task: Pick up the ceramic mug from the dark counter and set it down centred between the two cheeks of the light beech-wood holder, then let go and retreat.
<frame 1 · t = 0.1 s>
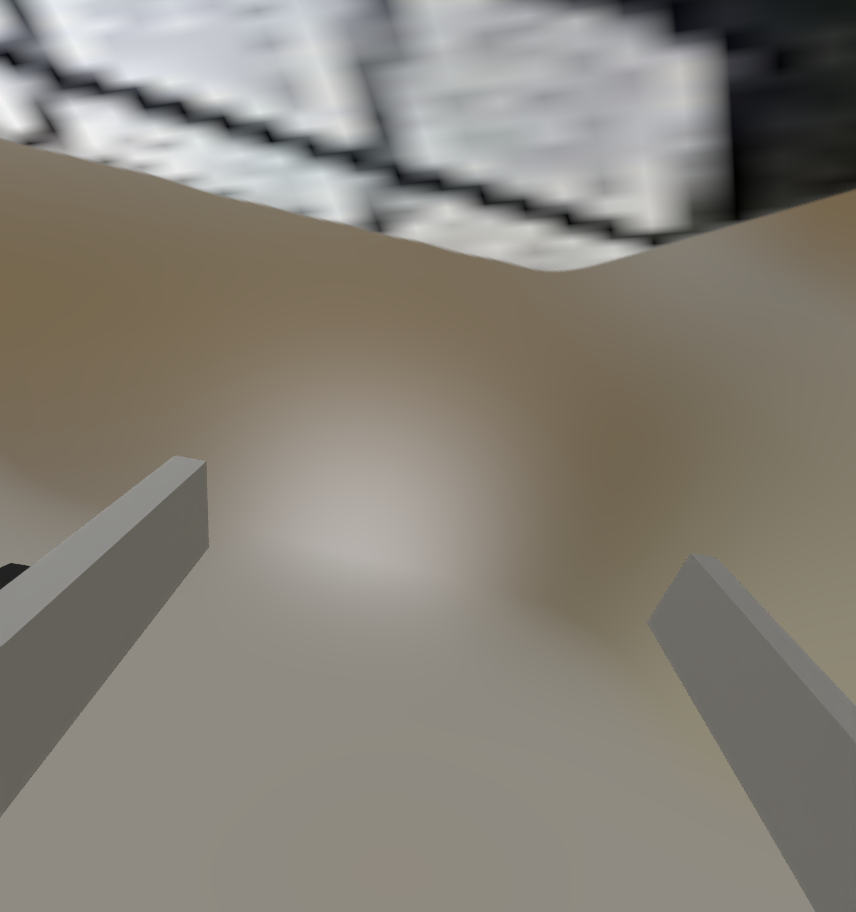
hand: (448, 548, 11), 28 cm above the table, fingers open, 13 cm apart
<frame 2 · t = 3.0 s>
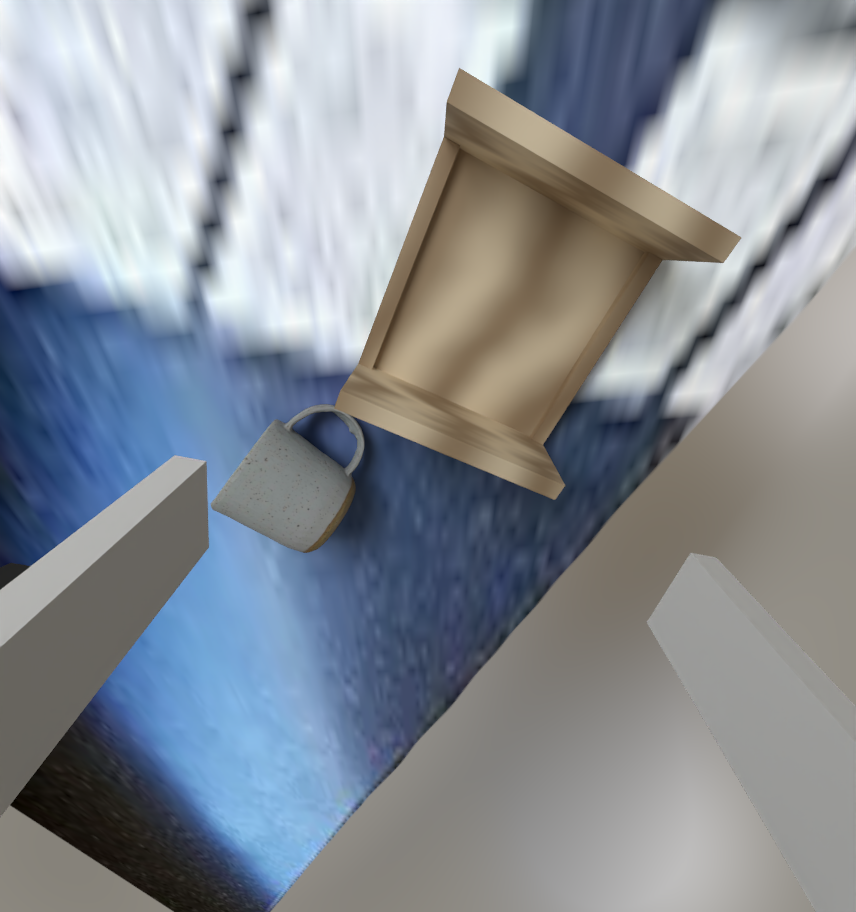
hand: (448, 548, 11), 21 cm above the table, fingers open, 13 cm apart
ceramic mug: (310, 452, 34), on the table
holder: (498, 311, 28), on the table
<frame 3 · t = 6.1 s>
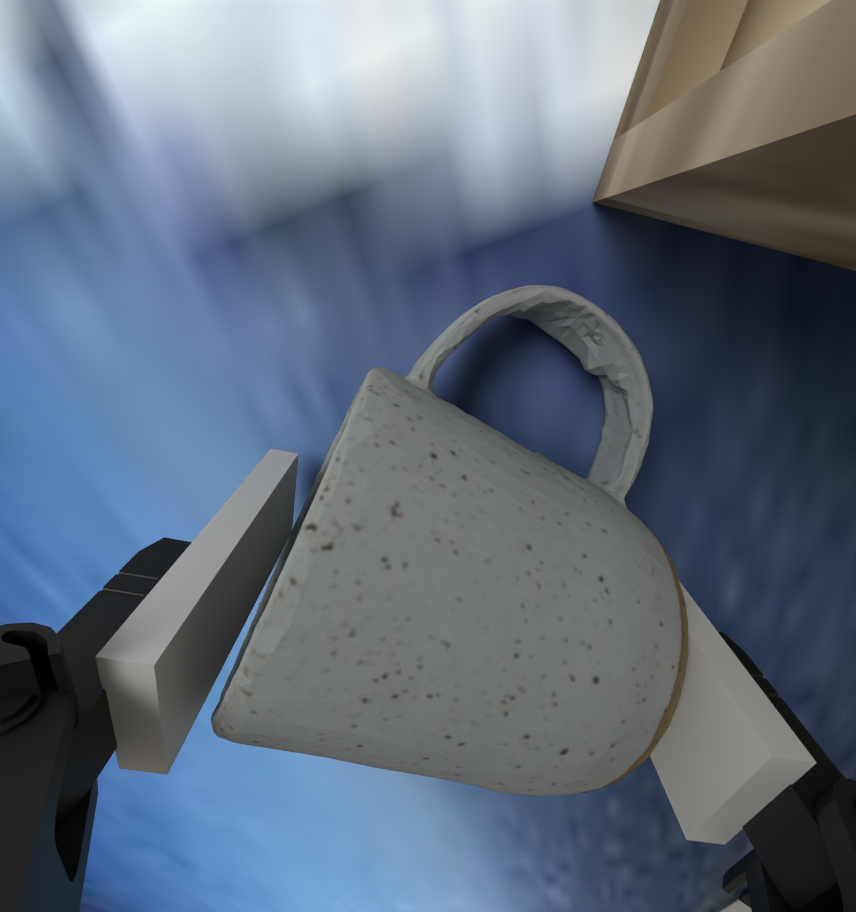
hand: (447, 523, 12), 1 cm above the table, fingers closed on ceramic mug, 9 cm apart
ceramic mug: (459, 460, 13), on the table, touching gripper
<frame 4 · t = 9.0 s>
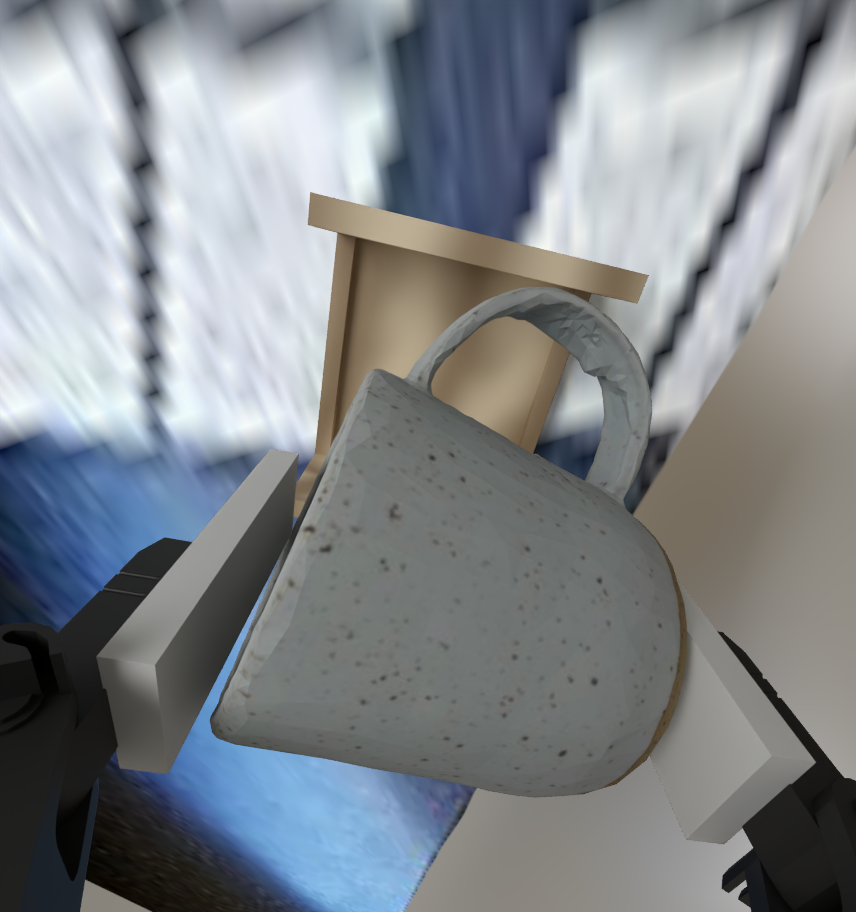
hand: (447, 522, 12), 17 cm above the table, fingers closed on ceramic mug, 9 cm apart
ceramic mug: (458, 461, 13), point 16 cm above the table, touching gripper
holder: (440, 374, 28), on the table
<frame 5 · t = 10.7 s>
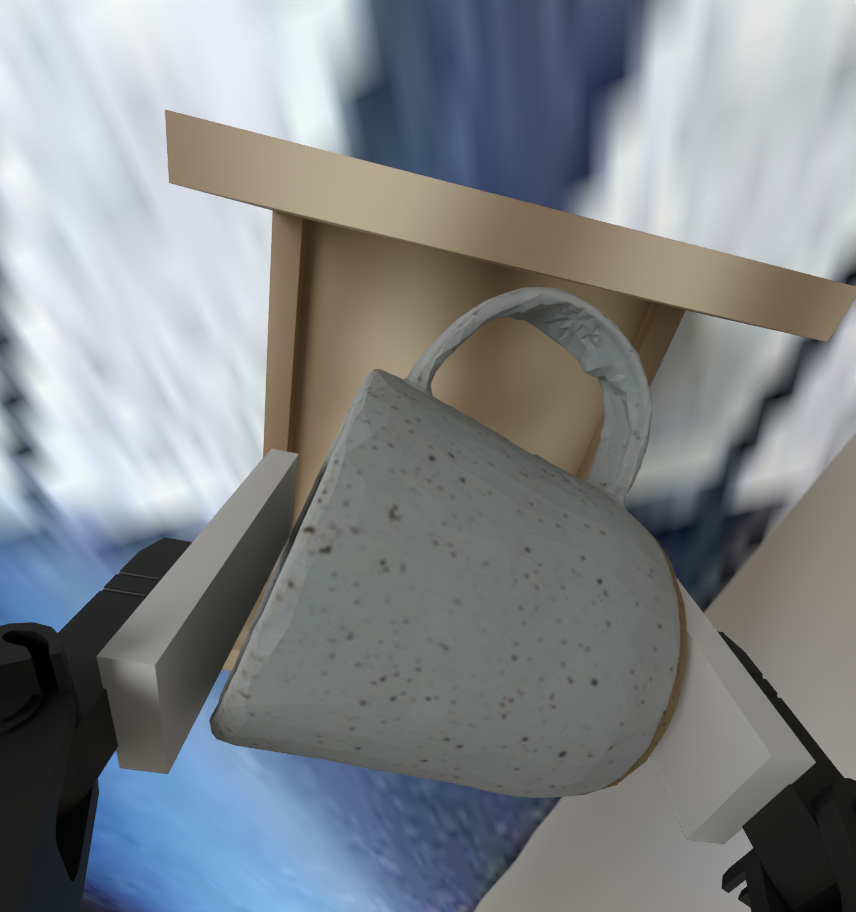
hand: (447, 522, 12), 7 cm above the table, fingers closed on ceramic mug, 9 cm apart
ceramic mug: (458, 461, 13), point 6 cm above the table, touching gripper
holder: (442, 426, 19), on the table
when the fingers open (4 cm above the table, at t = 11.9 s): ceramic mug drops 2 cm, resting on holder.
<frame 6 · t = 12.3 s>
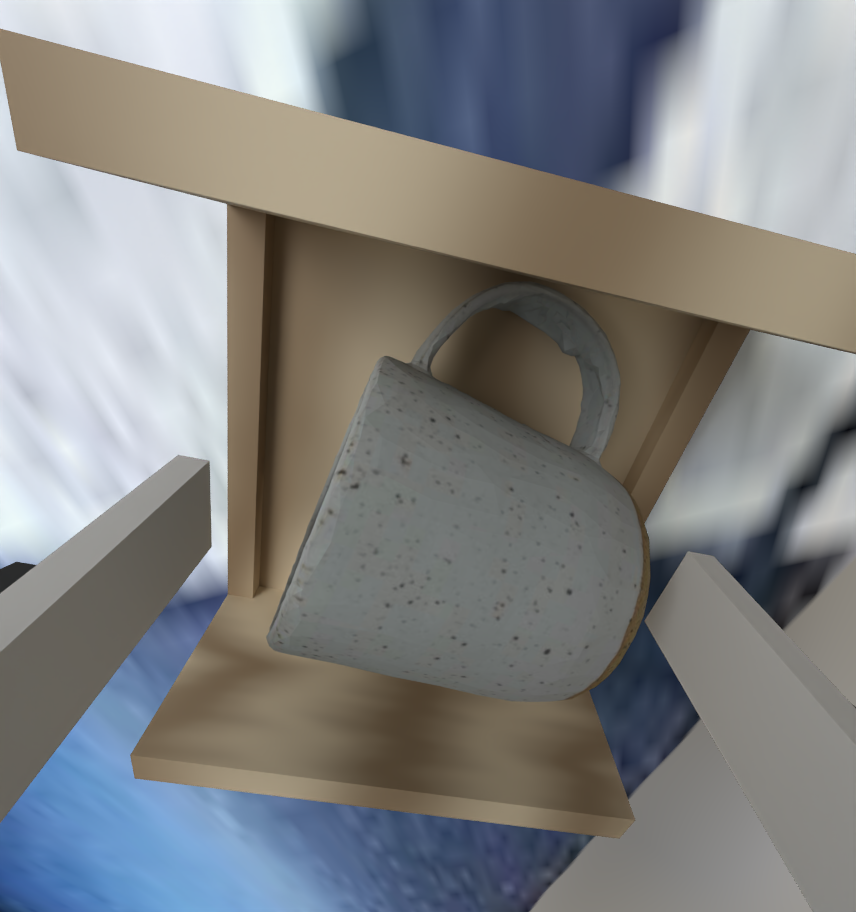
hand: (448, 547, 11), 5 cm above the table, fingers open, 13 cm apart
ceramic mug: (459, 438, 15), point 1 cm above the table, touching holder
holder: (444, 464, 16), on the table
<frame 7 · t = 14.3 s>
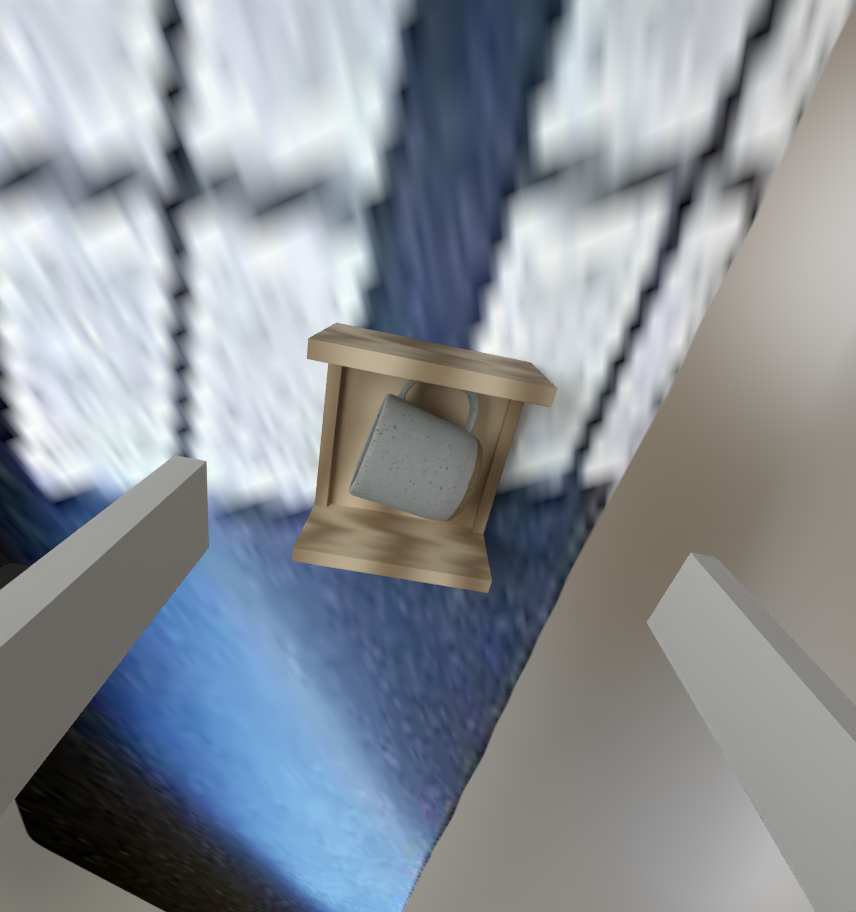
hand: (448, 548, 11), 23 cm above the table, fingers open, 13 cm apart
ceramic mug: (421, 426, 33), point 1 cm above the table, touching holder
holder: (415, 440, 34), on the table
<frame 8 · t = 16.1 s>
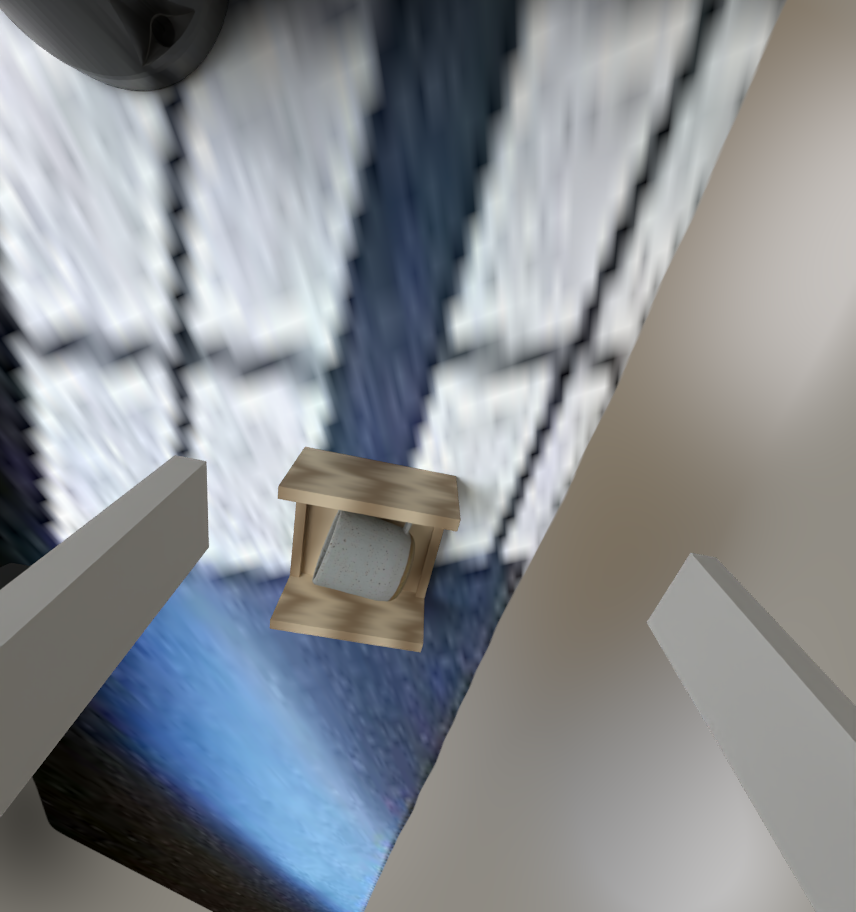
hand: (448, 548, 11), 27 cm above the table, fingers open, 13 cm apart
ceramic mug: (373, 520, 42), point 1 cm above the table, touching holder
holder: (369, 528, 44), on the table
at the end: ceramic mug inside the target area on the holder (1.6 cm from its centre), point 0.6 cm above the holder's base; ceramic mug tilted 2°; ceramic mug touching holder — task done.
